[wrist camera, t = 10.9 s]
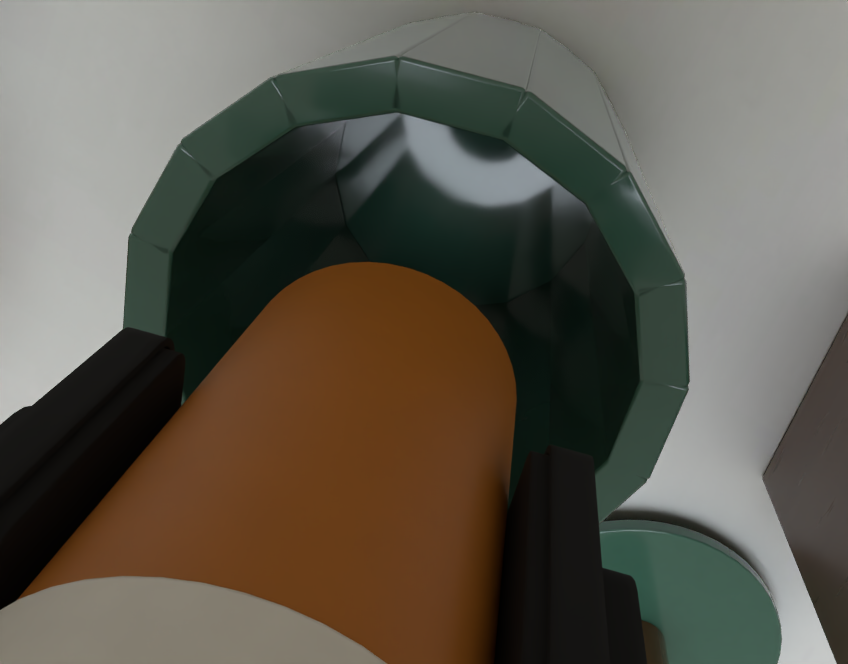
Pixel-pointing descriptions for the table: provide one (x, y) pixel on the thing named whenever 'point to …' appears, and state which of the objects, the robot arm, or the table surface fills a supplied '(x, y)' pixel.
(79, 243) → the table surface
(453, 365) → the vial
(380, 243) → the tin
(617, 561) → the lid
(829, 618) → the stand
